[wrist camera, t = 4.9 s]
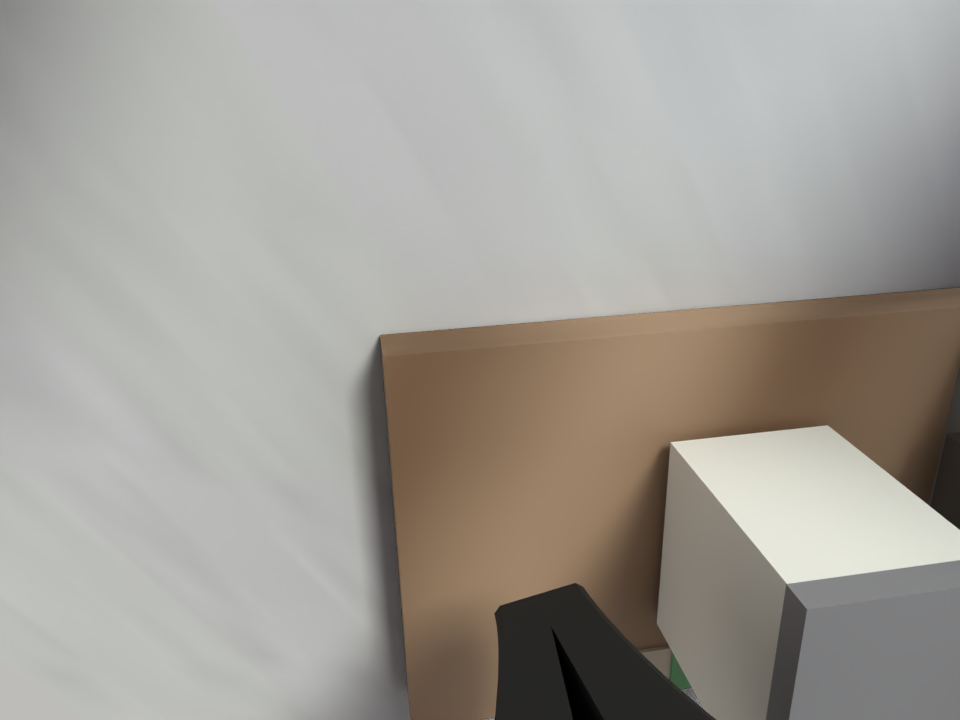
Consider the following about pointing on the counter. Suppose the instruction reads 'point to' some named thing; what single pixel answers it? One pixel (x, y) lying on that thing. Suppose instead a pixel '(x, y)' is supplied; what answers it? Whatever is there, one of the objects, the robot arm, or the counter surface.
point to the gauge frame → (626, 452)
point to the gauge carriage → (807, 582)
